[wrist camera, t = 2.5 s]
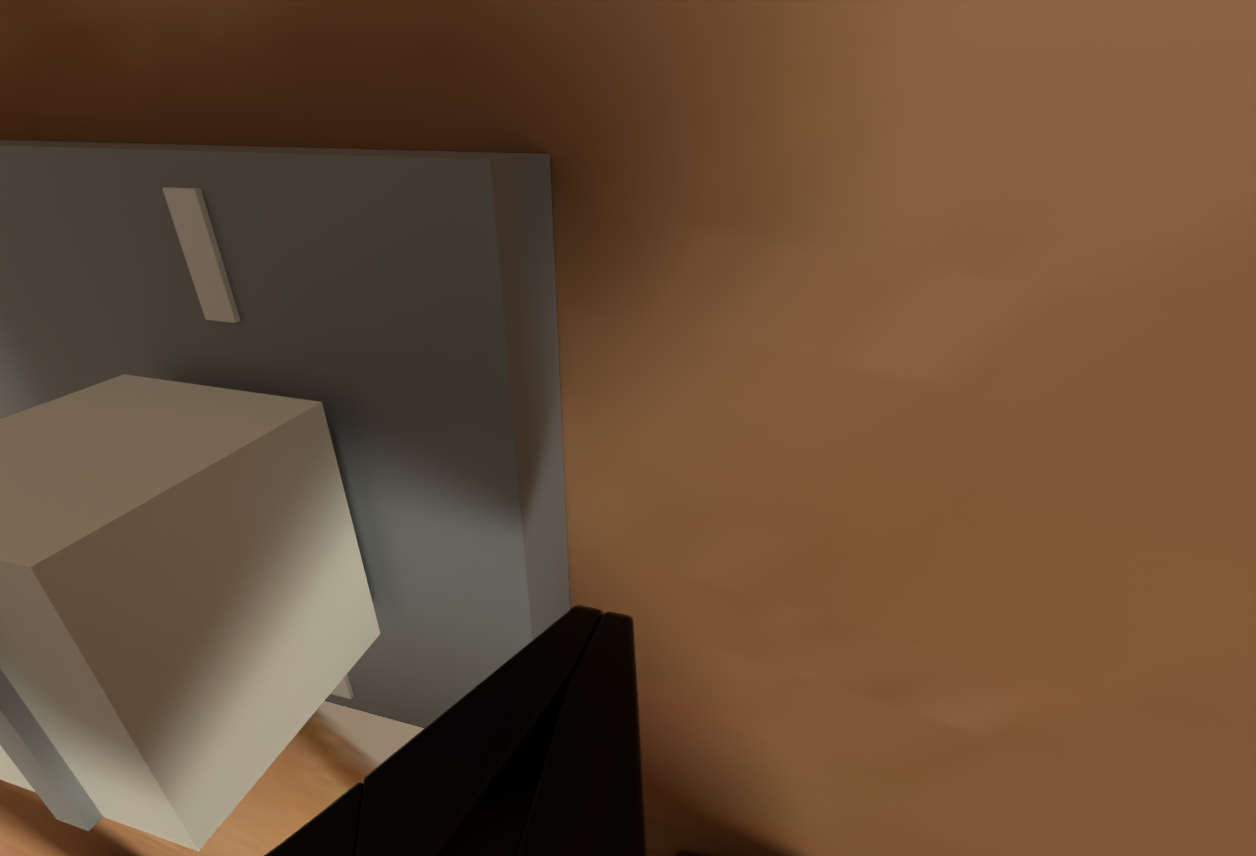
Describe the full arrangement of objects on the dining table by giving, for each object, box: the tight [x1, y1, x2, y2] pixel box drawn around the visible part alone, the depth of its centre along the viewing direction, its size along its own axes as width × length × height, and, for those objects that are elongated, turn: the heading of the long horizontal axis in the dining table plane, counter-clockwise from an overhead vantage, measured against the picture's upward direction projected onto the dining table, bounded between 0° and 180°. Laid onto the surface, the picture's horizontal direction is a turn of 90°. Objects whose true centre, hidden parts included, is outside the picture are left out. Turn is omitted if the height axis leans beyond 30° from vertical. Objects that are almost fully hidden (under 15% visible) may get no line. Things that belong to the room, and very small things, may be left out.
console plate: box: [0, 140, 570, 728], centre depth 14 cm, size 12×26×2 cm, turn 89°
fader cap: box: [0, 374, 380, 851], centre depth 9 cm, size 5×4×4 cm
